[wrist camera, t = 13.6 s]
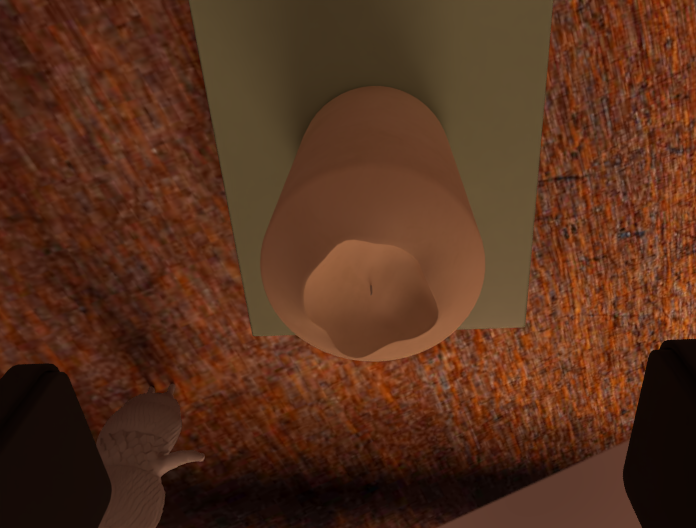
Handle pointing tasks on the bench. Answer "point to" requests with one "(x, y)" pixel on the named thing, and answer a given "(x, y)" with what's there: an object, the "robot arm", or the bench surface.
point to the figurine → (141, 458)
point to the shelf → (389, 71)
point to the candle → (373, 232)
